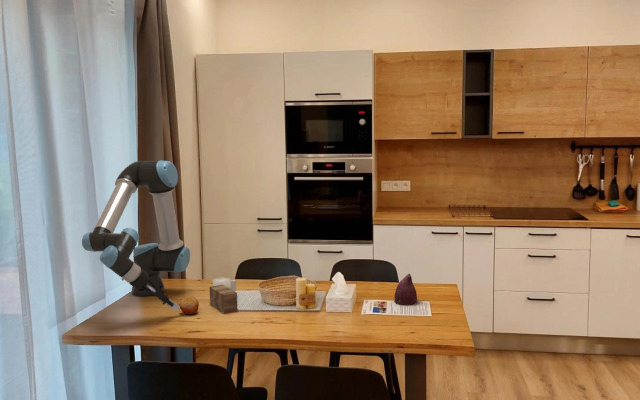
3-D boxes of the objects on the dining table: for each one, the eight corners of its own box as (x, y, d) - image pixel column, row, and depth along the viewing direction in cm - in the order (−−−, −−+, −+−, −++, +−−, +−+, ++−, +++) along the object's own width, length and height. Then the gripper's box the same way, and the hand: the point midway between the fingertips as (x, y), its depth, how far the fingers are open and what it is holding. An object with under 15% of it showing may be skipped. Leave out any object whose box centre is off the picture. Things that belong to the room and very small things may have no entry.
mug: (210, 297, 270) (209, 278, 269) (232, 294, 276) (231, 275, 275) (217, 302, 263) (216, 282, 262) (239, 298, 269) (238, 278, 268)
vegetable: (420, 310, 256) (428, 279, 251) (399, 310, 252) (407, 279, 247) (408, 298, 265) (417, 268, 260) (388, 298, 261) (396, 268, 256)
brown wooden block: (210, 304, 260) (209, 286, 259) (222, 302, 263) (222, 284, 262) (224, 313, 247) (223, 295, 246) (237, 311, 250) (236, 292, 249)
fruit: (203, 305, 253) (199, 293, 248) (198, 320, 247) (194, 307, 242) (185, 305, 254) (181, 292, 249) (180, 319, 248) (175, 306, 243)
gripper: (124, 279, 238) (166, 312, 249) (132, 286, 227) (176, 320, 238) (137, 265, 240) (178, 298, 251) (145, 271, 229) (188, 305, 240)
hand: (177, 309), depth 244 cm, fingers closed
